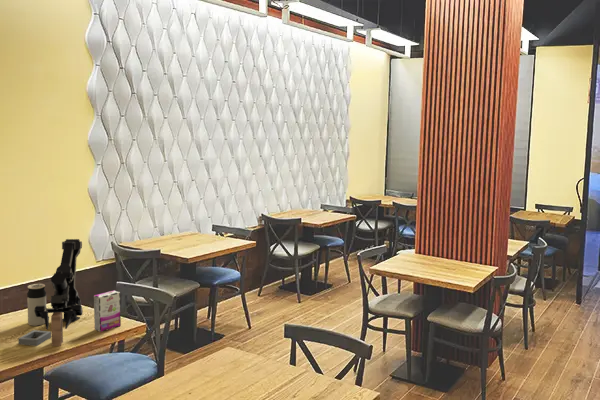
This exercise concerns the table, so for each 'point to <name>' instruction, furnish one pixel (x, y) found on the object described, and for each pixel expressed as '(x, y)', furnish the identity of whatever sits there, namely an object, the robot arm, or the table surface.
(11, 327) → the table surface
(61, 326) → the walnut post
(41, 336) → the slotted holder
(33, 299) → the travel mug
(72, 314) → the robot arm
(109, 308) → the candy bar box
